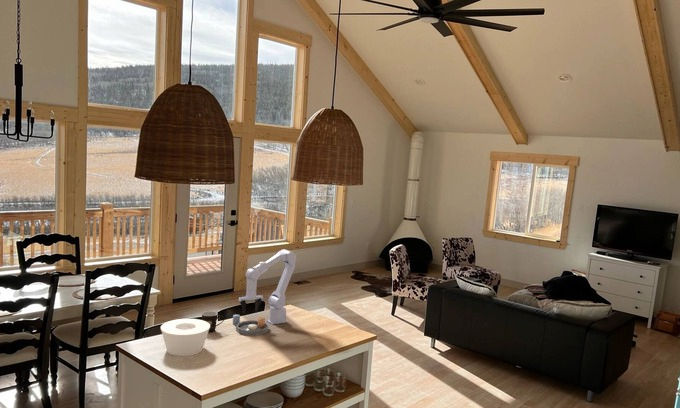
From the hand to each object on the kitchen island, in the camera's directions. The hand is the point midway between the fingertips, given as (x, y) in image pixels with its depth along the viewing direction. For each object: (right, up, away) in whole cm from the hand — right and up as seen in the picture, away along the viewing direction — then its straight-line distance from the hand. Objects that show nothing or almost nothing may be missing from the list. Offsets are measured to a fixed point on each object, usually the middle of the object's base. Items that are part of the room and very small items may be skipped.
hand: (250, 312), depth 299 cm
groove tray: (+2, -9, -4) cm, 10 cm away
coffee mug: (-20, -9, -11) cm, 24 cm away
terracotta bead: (+7, -8, -2) cm, 11 cm away
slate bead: (-9, -8, +4) cm, 13 cm away
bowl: (-26, -11, -38) cm, 48 cm away
